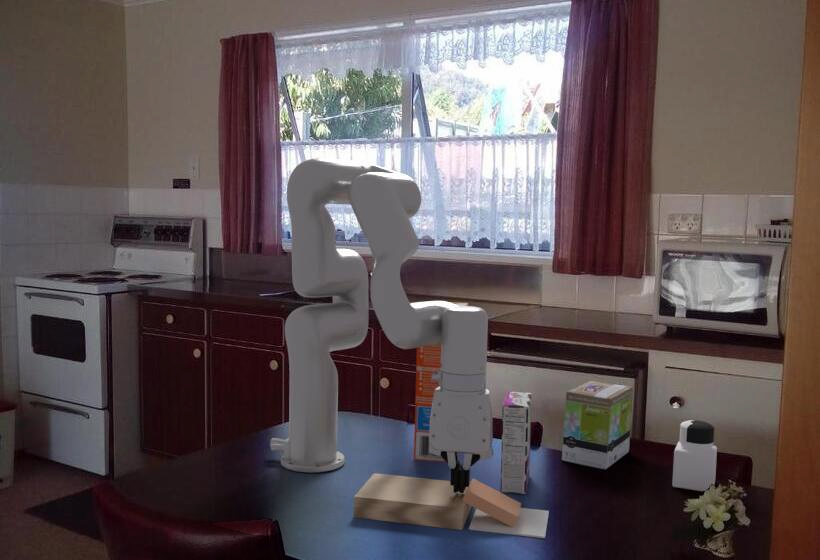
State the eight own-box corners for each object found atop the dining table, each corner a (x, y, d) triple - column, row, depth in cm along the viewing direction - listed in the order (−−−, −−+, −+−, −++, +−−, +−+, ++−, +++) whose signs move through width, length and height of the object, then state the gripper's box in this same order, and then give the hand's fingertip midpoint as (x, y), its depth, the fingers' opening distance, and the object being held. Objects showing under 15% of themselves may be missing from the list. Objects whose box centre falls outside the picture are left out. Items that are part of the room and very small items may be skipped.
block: (461, 500, 126) (466, 490, 126) (467, 488, 132) (472, 478, 131) (512, 527, 124) (517, 516, 124) (516, 513, 130) (521, 503, 130)
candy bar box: (503, 473, 151) (506, 390, 150) (529, 475, 151) (532, 392, 149) (498, 493, 141) (501, 404, 139) (526, 495, 140) (529, 406, 138)
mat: (468, 529, 124) (468, 527, 124) (478, 504, 135) (478, 503, 134) (545, 538, 121) (545, 536, 121) (548, 512, 132) (548, 510, 132)
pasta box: (453, 462, 157) (457, 315, 155) (413, 459, 158) (417, 313, 156) (464, 432, 180) (468, 303, 177) (429, 429, 181) (433, 301, 178)
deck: (353, 517, 128) (354, 496, 127) (373, 492, 139) (374, 473, 139) (462, 529, 124) (462, 508, 123) (473, 503, 135) (473, 483, 135)
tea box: (608, 471, 155) (612, 398, 153) (560, 461, 160) (563, 390, 159) (630, 452, 167) (633, 384, 166) (585, 444, 173) (588, 378, 171)
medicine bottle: (715, 482, 150) (718, 420, 149) (712, 493, 143) (716, 429, 142) (676, 475, 153) (679, 415, 152) (672, 487, 146) (675, 424, 145)
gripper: (413, 383, 126) (410, 493, 127) (505, 389, 122) (502, 503, 124) (423, 374, 133) (420, 478, 135) (510, 380, 130) (507, 487, 131)
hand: (459, 490), depth 129 cm, fingers closed
